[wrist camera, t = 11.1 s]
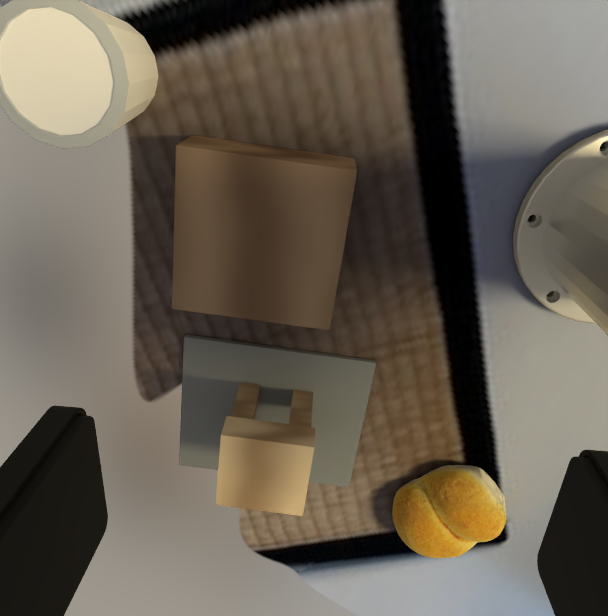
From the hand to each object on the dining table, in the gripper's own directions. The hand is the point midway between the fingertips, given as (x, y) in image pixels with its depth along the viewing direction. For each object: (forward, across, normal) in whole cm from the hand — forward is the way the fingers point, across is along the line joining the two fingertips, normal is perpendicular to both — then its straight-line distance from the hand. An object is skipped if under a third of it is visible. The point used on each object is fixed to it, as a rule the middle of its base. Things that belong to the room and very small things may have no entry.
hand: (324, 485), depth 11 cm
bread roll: (+26, -11, +25) cm, 38 cm away
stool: (+25, +3, +18) cm, 31 cm away
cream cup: (+26, +14, -6) cm, 30 cm away
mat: (+26, +4, +18) cm, 31 cm away
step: (+26, +4, +3) cm, 26 cm away
